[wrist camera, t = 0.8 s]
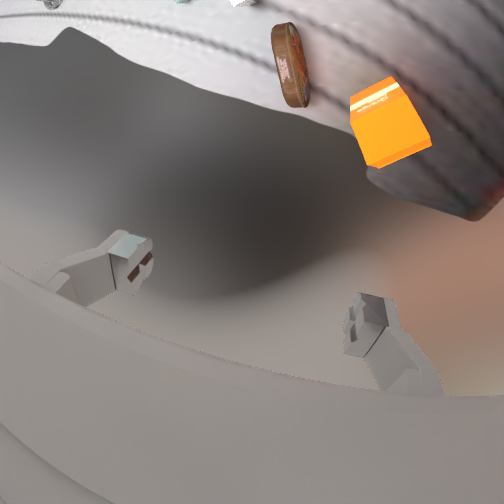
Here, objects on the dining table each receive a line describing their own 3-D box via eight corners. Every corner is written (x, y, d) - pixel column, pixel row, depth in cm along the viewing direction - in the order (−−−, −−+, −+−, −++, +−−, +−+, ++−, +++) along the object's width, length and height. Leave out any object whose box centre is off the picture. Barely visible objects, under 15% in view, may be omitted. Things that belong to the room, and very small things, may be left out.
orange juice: (413, 112, 39) (442, 165, 26) (372, 132, 45) (380, 190, 32) (391, 75, 36) (415, 106, 23) (349, 96, 41) (348, 139, 29)
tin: (312, 100, 44) (305, 114, 39) (295, 101, 45) (285, 115, 40) (297, 22, 34) (287, 21, 29) (278, 24, 35) (265, 24, 30)
